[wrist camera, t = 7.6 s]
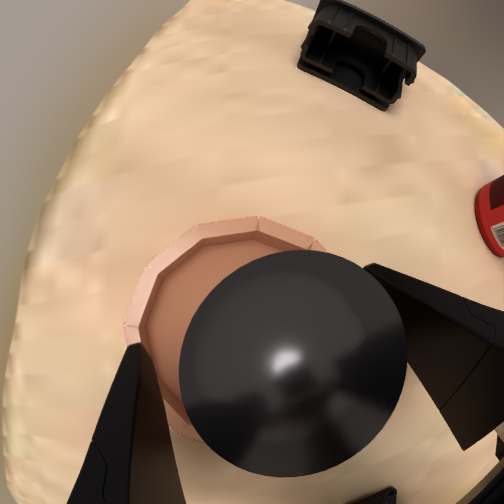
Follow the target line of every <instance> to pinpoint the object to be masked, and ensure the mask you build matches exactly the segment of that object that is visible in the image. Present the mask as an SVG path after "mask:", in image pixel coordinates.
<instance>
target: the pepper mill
mask: <svg viewBox="0 0 504 504" xmlns="http://www.w3.org/2000/svg"><path fill="white" fill-rule="evenodd" d="M406 369H407V342H406V336H405V331H404V326H403V323H402V320H401V317H400V314H399V312H398V310H397V308H396V306H395V304H394V302H393V300H392V299H391V297H390V296H389V294H388V293H387V291H386V290H385V289H384V288H383V287H382V285H381V284H380V283H379V282H378V281H377V280H376V279H375V278H374V277H373V276H372V275H371V274H369V273H368V272H367V271H366V270H364V269H363V268H361V267H360V266H358V265H357V264H355V263H353V262H351V261H349V260H347V259H345V258H343V257H340V256H337V255H334V254H331V253H326V252H321V251H315V250H290V251H282V252H278V253H273V254H269V255H266V256H263V257H261V258H258V259H255V260H253V261H251V262H249V263H247V264H245V265H243V266H242V267H240V268H238V269H236V270H235V271H234V272H232V273H231V274H230V275H228V276H227V277H225V278H224V279H223V280H222V281H221V282H220V283H219V284H218V285H217V286H216V287H214V288H213V289H212V290H211V292H210V293H209V294H208V295H207V297H206V298H205V299H204V300H203V301H202V303H201V304H200V306H199V307H198V309H197V311H196V312H195V314H194V316H193V317H192V319H191V322H190V324H189V326H188V328H187V331H186V333H185V336H184V340H183V343H182V347H181V352H180V359H179V386H180V392H181V398H182V401H183V404H184V407H185V410H186V413H187V415H188V417H189V419H190V421H191V423H192V425H193V427H194V429H195V430H196V431H197V433H198V434H199V436H200V437H201V439H202V440H203V441H204V442H205V443H206V444H207V445H208V446H209V447H210V448H211V449H212V450H213V451H214V452H215V453H217V454H218V455H219V456H221V457H222V458H223V459H225V460H226V461H228V462H230V463H232V464H233V465H235V466H237V467H239V468H242V469H244V470H247V471H249V472H252V473H256V474H260V475H265V476H273V477H298V476H305V475H310V474H314V473H318V472H321V471H324V470H327V469H329V468H332V467H334V466H337V465H339V464H340V463H342V462H344V461H346V460H348V459H349V458H351V457H352V456H354V455H355V454H357V453H358V452H359V451H361V450H362V449H363V448H364V447H365V446H366V445H368V444H369V443H370V442H371V441H372V440H373V439H374V438H375V436H376V435H377V434H378V433H379V432H380V431H381V430H382V428H383V427H384V425H385V424H386V422H387V421H388V420H389V418H390V416H391V414H392V413H393V411H394V409H395V407H396V405H397V402H398V400H399V397H400V395H401V392H402V389H403V385H404V381H405V376H406Z"/></svg>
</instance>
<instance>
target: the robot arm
mask: <svg viewBox="0 0 504 504" xmlns="http://www.w3.org/2000/svg"><path fill="white" fill-rule="evenodd" d="M363 269H364V270H366V271H367V272H368V273H369V274H371V275H372V276H373V277H374V278H375V279H376V280H377V281H378V282H379V283H380V284H381V285H382V287H383V288H384V289H385V290H386V291H387V293H388V294H389V296H390V297H391V299H392V300H393V302H394V304H395V306H396V308H397V310H398V312H399V314H400V317H401V320H402V323H403V326H404V331H405V336H406V342H407V362H408V363H409V365H410V366H411V368H412V369H413V371H414V372H415V374H416V375H417V377H418V378H419V380H420V381H421V383H422V385H423V386H424V388H425V389H426V391H427V392H428V394H429V395H430V397H431V399H432V400H433V402H434V403H435V405H436V406H437V408H438V410H439V412H440V413H441V415H442V416H443V418H444V420H445V421H446V423H447V425H448V426H449V428H450V430H451V431H452V433H453V435H454V436H455V438H456V440H457V441H458V443H459V445H460V447H461V448H462V450H463V451H465V450H466V449H468V448H469V447H471V446H472V445H474V444H475V443H476V442H478V441H479V440H481V439H482V438H483V437H485V436H486V435H487V434H489V433H490V432H491V431H493V430H495V431H496V432H497V445H496V454H495V455H496V457H497V458H498V459H499V462H498V464H497V465H496V466H495V467H494V468H493V469H492V470H491V471H490V472H489V473H488V474H487V475H486V476H485V477H484V478H483V479H482V480H481V481H480V482H479V483H478V484H477V485H476V486H475V487H474V488H473V489H472V490H471V491H470V492H469V493H467V494H466V495H465V496H464V497H463V498H462V499H461V500H460V501H458V502H457V503H456V504H504V311H501V310H497V309H494V308H491V307H488V306H485V305H482V304H480V303H477V302H475V301H472V300H469V299H467V298H465V297H461V296H459V295H457V294H454V293H452V292H449V291H447V290H444V289H442V288H439V287H437V286H434V285H432V284H429V283H426V282H424V281H421V280H419V279H416V278H413V277H411V276H408V275H406V274H403V273H400V272H398V271H395V270H392V269H390V268H387V267H384V266H382V265H379V264H376V263H371V264H369V265H366V266H364V268H363ZM396 494H397V490H396V489H395V488H394V487H389V488H387V489H385V490H383V491H381V492H379V493H377V494H375V495H373V496H371V497H368V498H366V499H364V500H362V501H359V502H357V503H355V504H396ZM67 504H186V501H185V498H184V494H183V490H182V486H181V482H180V478H179V474H178V470H177V465H176V461H175V456H174V452H173V447H172V442H171V437H170V432H169V426H168V421H167V415H166V410H165V405H164V401H163V398H162V394H161V390H160V387H159V383H158V379H157V375H156V372H155V368H154V364H153V361H152V358H151V357H150V355H149V353H148V352H147V350H146V349H145V347H144V346H143V344H142V343H141V342H137V343H134V344H130V345H129V346H128V347H127V349H126V351H125V354H124V356H123V358H122V361H121V363H120V366H119V368H118V370H117V373H116V375H115V378H114V380H113V383H112V385H111V388H110V391H109V393H108V396H107V398H106V401H105V404H104V406H103V409H102V412H101V414H100V417H99V420H98V423H97V425H96V428H95V431H94V434H93V437H92V441H91V442H90V445H89V448H88V452H87V454H86V457H85V460H84V463H83V466H82V468H81V471H80V473H79V475H78V478H77V480H76V483H75V485H74V487H73V490H72V492H71V494H70V497H69V499H68V502H67Z"/></svg>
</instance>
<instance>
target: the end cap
mask: <svg viewBox="0 0 504 504" xmlns="http://www.w3.org/2000/svg"><path fill="white" fill-rule="evenodd" d="M308 29H309V31H308V34H307V36H306V39H305V40H304V42H303V43H302V45H301V49H302V51H301V54H300V56H301V57H300V59H299V61H298V64H297V67H298V68H299V69H300V70H302V71H304V72H307V73H309V74H311V75H313V76H316V77H318V78H320V79H322V80H324V81H326V82H328V83H330V84H333V85H335V86H337V87H339V88H341V89H343V90H345V91H346V92H348V93H350V94H352V95H354V96H356V97H358V98H360V99H361V100H363V101H365V102H367V103H369V104H370V105H372V106H374V107H376V108H377V109H379V110H381V111H385V110H386V109H387V108H388V107H389V104H392V103H394V102H395V101H396V100H397V99H400V98H401V93H402V83H403V79H404V78H405V84H406V85H408V86H409V85H410V84H411V83H414V79H415V78H416V74H417V62H418V61H419V60H420V58H421V57H422V56H423V55H424V53H425V51H426V50H425V47H424V45H423V44H421V43H420V42H418V41H417V40H415V39H414V38H412V37H410V36H409V35H407V34H406V33H404V32H402V31H401V30H399V29H397V28H395V27H394V26H392V25H390V24H389V23H387V22H385V21H383V20H381V19H380V18H378V17H376V16H374V15H372V14H370V13H368V12H366V11H364V10H362V9H360V8H358V7H356V6H354V5H351V4H349V3H347V2H345V1H342V0H320V3H319V5H318V8H317V10H316V13H315V15H314V18H313V20H312V22H311V23H310V25H309V26H308Z"/></svg>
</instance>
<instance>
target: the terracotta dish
mask: <svg viewBox="0 0 504 504" xmlns="http://www.w3.org/2000/svg"><path fill="white" fill-rule="evenodd" d="M313 240H314V237H311V236H309V235H307V234H304V233H302V232H299V231H296V230H294V229H291V228H289V227H286V226H284V225H281V224H279V223H276V222H274V221H271V220H268V219H266V218H263V217H261V216H260V218H259V220H258V218H257V216H253V217H246V218H239V219H231V220H224V221H217V222H210V223H204V224H198V229H197V228H196V227H195V226H194V227H192V228H191V229H190V230H188V231H187V232H186V233H185V234H183V235H182V236H181V237H179V238H178V239H177V240H176V241H174V242H173V243H172V244H171V245H169V246H168V247H167V248H166V249H164V250H163V251H162V252H161V253H159V254H158V255H157V256H156V257H154V258H153V259H152V260H151V261H149V262H148V263H147V264H148V266H149V267H150V268H148V267H146V266H145V267H144V270H143V272H142V275H141V277H140V280H139V283H138V285H137V288H136V290H135V293H134V296H133V299H132V301H131V304H130V307H129V310H128V312H127V315H126V318H125V321H124V324H126V325H128V326H126V327H123V328H124V334H125V339H126V344H127V347H128V346H129V345H130V344H134V343H137V342H141V343H142V344H143V346H144V347H145V349H146V350H147V352H148V353H149V355H150V357H151V358H152V361H153V364H154V368H155V372H156V375H157V379H158V383H159V387H160V390H161V394H162V398H163V401H164V405H165V410H166V415H167V421H168V424H169V425H170V426H171V427H172V428H173V429H174V430H175V431H176V432H177V433H178V434H179V433H180V432H182V436H185V437H188V438H191V439H194V440H197V441H200V442H204V441H203V440H202V439H201V437H200V436H199V434H198V433H197V431H196V430H195V429H194V427H193V425H192V423H191V421H190V419H189V417H188V415H187V413H186V410H185V407H184V404H183V401H182V398H181V392H180V386H179V359H180V352H181V347H182V343H183V340H184V336H185V333H186V331H187V328H188V326H189V324H190V322H191V319H192V317H193V316H194V314H195V312H196V311H197V309H198V307H199V306H200V304H201V303H202V301H203V300H204V299H205V298H206V297H207V295H208V294H209V293H210V292H211V290H212V289H213V288H214V287H216V286H217V285H218V284H219V283H220V282H221V281H222V280H223V279H224V278H225V277H227V276H228V275H230V274H231V273H232V272H234V271H235V270H236V269H238V268H240V267H242V266H243V265H245V264H247V263H249V262H251V261H253V260H255V259H258V258H261V257H263V256H266V255H269V254H273V253H278V252H282V251H290V250H315V251H321V252H326V253H328V252H327V251H326V250H325V249H324V248H323V246H322V245H321V244H320V243H319V242H318V240H315V241H314V242H313ZM204 443H205V442H204Z"/></svg>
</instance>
